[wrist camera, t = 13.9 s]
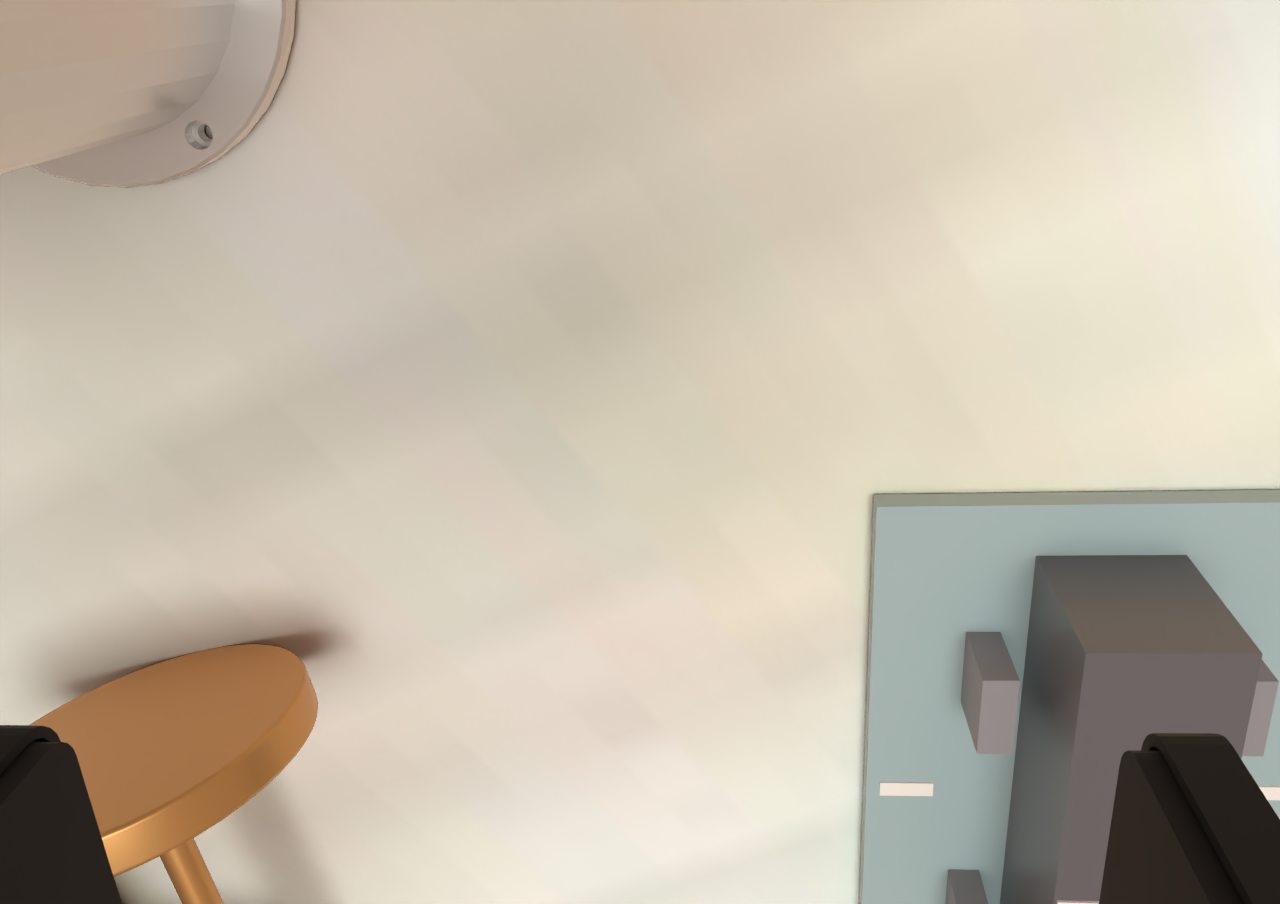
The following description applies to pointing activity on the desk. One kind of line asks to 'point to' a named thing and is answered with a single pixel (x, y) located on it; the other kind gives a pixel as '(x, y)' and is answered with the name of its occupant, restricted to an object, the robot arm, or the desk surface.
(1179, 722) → the dark gray block
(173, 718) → the light fixture
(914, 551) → the base
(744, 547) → the desk surface
